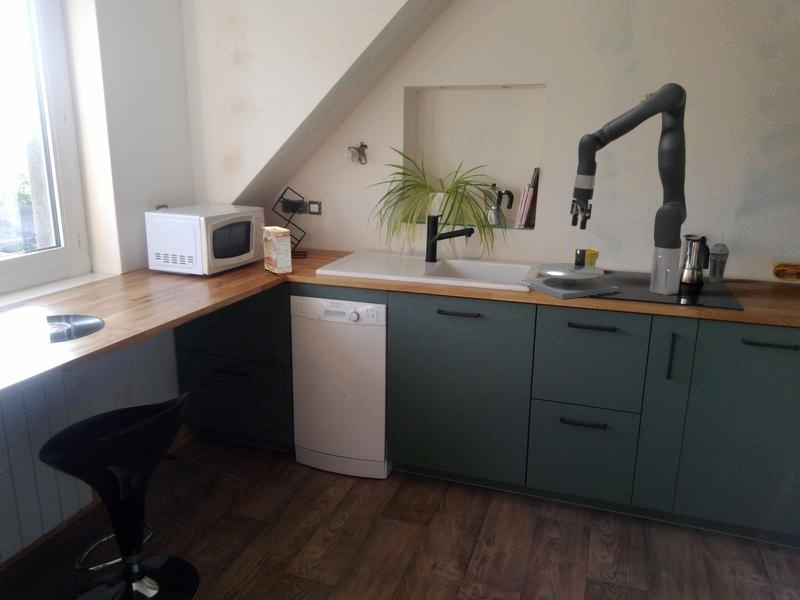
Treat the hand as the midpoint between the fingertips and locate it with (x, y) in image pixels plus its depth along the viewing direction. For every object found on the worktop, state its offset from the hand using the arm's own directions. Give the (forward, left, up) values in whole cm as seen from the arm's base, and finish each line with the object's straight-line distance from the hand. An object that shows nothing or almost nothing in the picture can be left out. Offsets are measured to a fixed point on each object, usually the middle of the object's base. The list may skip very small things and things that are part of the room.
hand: (578, 227), depth 241 cm
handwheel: (-9, +10, -16) cm, 21 cm away
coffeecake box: (+68, +107, -22) cm, 129 cm away
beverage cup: (-22, -54, -22) cm, 62 cm away
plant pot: (+14, -17, -22) cm, 31 cm away
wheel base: (-9, +10, -22) cm, 26 cm away
